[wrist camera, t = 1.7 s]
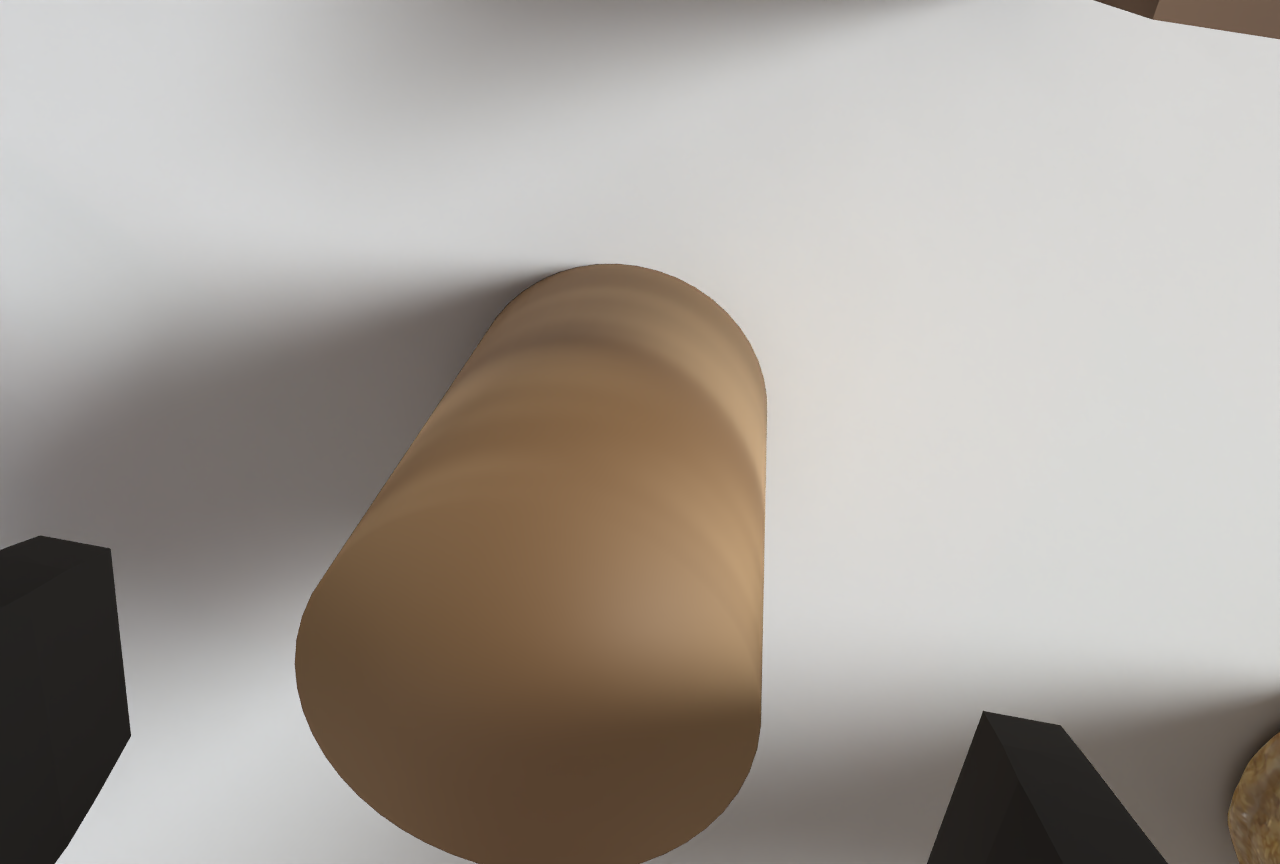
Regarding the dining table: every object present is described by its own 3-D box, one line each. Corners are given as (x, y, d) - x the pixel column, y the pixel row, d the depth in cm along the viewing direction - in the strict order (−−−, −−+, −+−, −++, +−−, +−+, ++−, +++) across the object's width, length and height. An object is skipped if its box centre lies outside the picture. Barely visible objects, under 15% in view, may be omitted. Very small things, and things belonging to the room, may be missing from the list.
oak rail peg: (463, 507, 15) (296, 829, 10) (481, 239, 14) (292, 460, 8) (738, 556, 15) (717, 910, 10) (794, 293, 13) (805, 552, 8)
